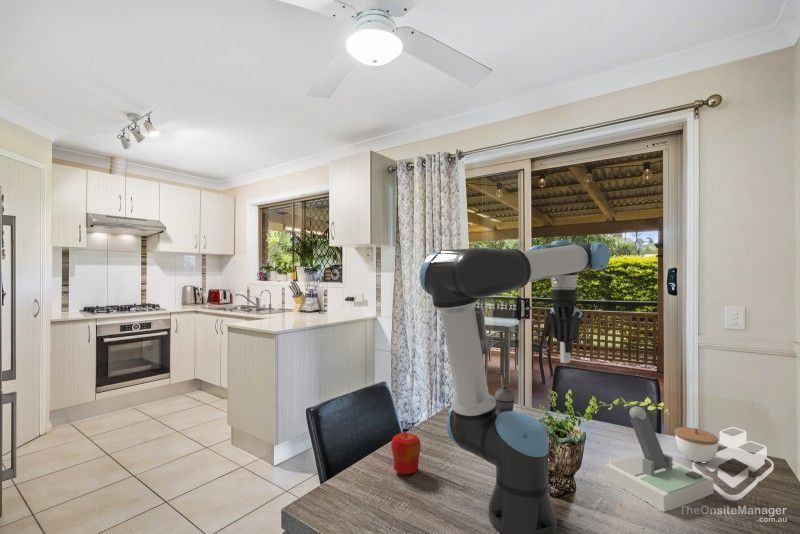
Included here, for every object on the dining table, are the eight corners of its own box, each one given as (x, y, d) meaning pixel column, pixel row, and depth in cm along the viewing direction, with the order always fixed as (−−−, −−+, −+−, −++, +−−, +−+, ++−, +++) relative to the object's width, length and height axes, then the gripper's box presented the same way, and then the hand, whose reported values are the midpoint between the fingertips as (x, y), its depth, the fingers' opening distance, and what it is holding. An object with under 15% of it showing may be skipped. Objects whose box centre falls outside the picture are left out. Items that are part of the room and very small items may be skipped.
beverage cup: (517, 434, 136) (517, 378, 137) (497, 434, 136) (496, 378, 137) (511, 426, 144) (511, 373, 144) (492, 426, 144) (492, 373, 144)
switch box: (605, 479, 107) (605, 452, 107) (652, 465, 115) (652, 440, 115) (663, 512, 92) (663, 480, 92) (713, 494, 100) (713, 464, 100)
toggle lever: (646, 470, 104) (622, 408, 110) (658, 467, 106) (634, 406, 112) (660, 471, 100) (634, 406, 107) (672, 467, 102) (646, 404, 109)
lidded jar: (678, 447, 127) (678, 419, 127) (720, 458, 119) (720, 428, 119) (671, 458, 119) (671, 428, 119) (715, 471, 111) (715, 439, 112)
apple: (397, 482, 105) (397, 439, 105) (386, 467, 113) (387, 427, 113) (425, 476, 108) (425, 434, 109) (413, 462, 116) (413, 423, 116)
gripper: (540, 288, 128) (541, 359, 127) (572, 289, 116) (574, 367, 115) (556, 288, 131) (557, 357, 130) (589, 289, 119) (591, 365, 118)
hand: (565, 362), depth 122 cm, fingers closed
